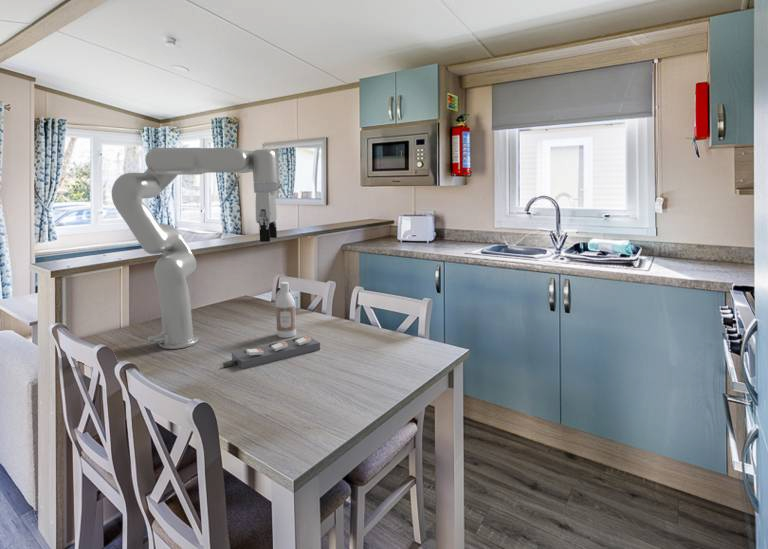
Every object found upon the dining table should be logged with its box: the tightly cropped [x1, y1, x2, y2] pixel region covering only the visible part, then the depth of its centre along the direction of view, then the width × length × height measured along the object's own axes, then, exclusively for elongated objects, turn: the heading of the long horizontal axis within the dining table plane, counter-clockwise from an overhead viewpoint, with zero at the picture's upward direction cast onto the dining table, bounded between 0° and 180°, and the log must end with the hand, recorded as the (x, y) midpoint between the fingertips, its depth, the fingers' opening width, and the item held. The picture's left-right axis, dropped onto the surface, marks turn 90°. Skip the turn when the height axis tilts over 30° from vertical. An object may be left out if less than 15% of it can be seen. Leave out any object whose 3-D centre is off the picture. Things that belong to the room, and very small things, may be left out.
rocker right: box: [295, 335, 312, 345], centre depth 152 cm, size 4×3×1 cm
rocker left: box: [245, 348, 264, 355], centre depth 142 cm, size 4×3×1 cm
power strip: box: [222, 335, 321, 370], centre depth 148 cm, size 31×9×3 cm, turn 127°
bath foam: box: [275, 281, 297, 339], centre depth 167 cm, size 7×7×20 cm
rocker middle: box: [271, 340, 288, 351], centre depth 147 cm, size 4×3×1 cm
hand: (268, 239), depth 154 cm, fingers open, 9 cm apart
